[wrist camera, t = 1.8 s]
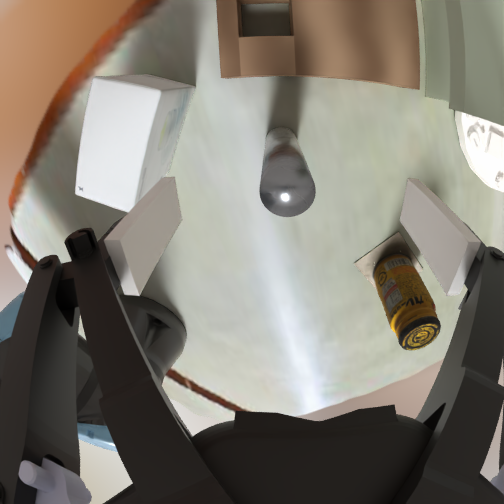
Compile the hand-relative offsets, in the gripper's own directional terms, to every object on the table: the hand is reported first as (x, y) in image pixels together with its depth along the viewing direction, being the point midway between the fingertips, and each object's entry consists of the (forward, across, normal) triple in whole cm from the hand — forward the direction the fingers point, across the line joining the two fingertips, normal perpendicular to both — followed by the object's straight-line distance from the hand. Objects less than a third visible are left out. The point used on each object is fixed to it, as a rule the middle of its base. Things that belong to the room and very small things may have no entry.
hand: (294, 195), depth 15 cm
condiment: (+15, -14, +16) cm, 27 cm away
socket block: (+15, -4, -13) cm, 20 cm away
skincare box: (+15, +14, -3) cm, 20 cm away
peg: (+15, 0, 0) cm, 15 cm away
